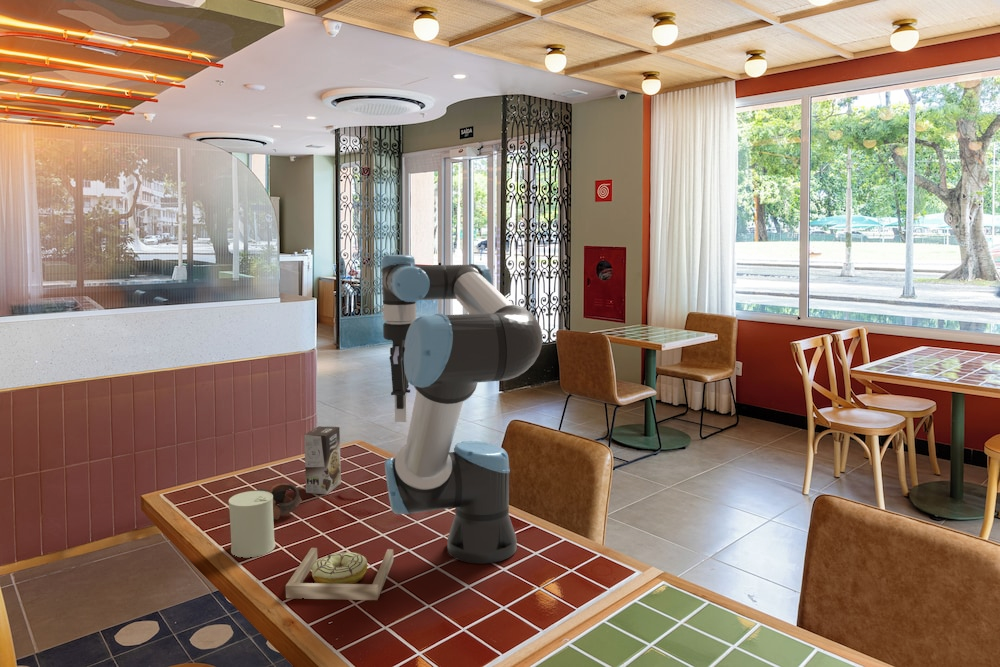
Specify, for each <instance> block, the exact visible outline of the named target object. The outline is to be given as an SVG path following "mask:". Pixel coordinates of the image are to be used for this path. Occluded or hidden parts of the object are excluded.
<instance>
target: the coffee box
mask: <svg viewBox="0 0 1000 667" xmlns="http://www.w3.org/2000/svg"><path fill="white" fill-rule="evenodd" d="M340 433H341V432H340V426H319V425H318V426H317V427H315V428H313V429H311V430H310V431H308V432H307V433H305V434H303V435H304V466H305V468H304V469H305V470H304V472H305V493H306V494H315V495H329V494H330V493H331V492H333V490H334V489H336V488H337V487H338V486H339V485H341V484H342V474H341V473H342V472H341V471H342V470H341V469H342V468H341V466H342V465H341V437H340V436H341V434H340Z"/></svg>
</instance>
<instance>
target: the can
mask: <svg viewBox="0 0 1000 667" xmlns="http://www.w3.org/2000/svg"><path fill="white" fill-rule="evenodd" d="M228 511H229V524H230V553H231V555H232V556H234V555H235V556H234V557H236V556H237V557H236V558H241V557H243V558H244V559H249V558H250V557H252V558H258V557H261V555H262V556H264V554H265V555H267V554H269V553H271V552H272V551H273V550H274V549H275V548H276V542H275V526H274V519H273V495H272V494H271V493H269V492H266V491H255V490H249V491H244V492H239V493H237V494H234V495H232V496H231V497H230V498H229V499H228ZM257 556H258V557H257ZM243 558H242V559H243Z"/></svg>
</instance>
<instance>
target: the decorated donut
mask: <svg viewBox="0 0 1000 667" xmlns="http://www.w3.org/2000/svg"><path fill="white" fill-rule="evenodd" d="M367 571H368V560H367V558H366V557H365V556H364V555H362V554H360V553H357V552H355V551H354V552H353V551H349V552H348V551H347V552H345V551H343V552H335V553H331V554H328V555H327V554H326V556H324V557H321V558H319V559H317V561H316V562H315V563H314V564H313V566H312V568H311V576H312V579H313V580H314V583H327V584H358V582H359V581H361V580H362V579H363V578H364V575H365V574H366V573H367Z"/></svg>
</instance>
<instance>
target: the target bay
mask: <svg viewBox="0 0 1000 667" xmlns="http://www.w3.org/2000/svg"><path fill="white" fill-rule="evenodd" d="M394 560H395V559H394V549H392V548H388V549H386V552H385V554H384V557H383V558H382V562H381V563H380V566H379V568H378V570H377V572H376V575H375V577H374V579H373V582H372V583H371V584H370V583H369V584H367V583H355V584H327V583H316V582H314V583H313V582H304V581H305V579H306V578H307V576H308V574H309V573H310V572H311V571H312V566H313V564H314V563H315V562H317V561H318V548H317V547H311V548H310V549H309V550H308V552H307V554H306V555H305V556H304V558H303V560H302V561H301V563H300V564H299V566H298V567H297V568H296V570H295V571H294V573H292V576H291V577H290V579H288V581H287V583H286V584H285V586H284V588H285V598H286V599H300V600H301V599H302V598H304V599H305V600H307V599H308V600H347V601H348V600H350V601H353V600H354V601H357V600H358V601H378V599H379V598H380V594H381V592H382V590H383V587H384V585H385V582H386V580H387V578H388V576H389V573H390V570H391V568H392V565H393V562H394ZM304 599H303V600H304Z"/></svg>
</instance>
